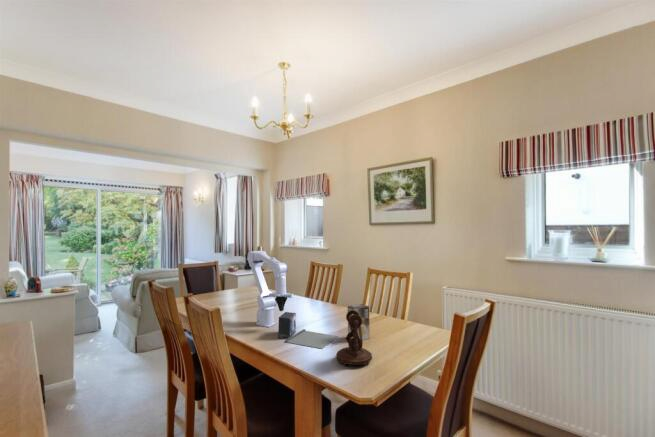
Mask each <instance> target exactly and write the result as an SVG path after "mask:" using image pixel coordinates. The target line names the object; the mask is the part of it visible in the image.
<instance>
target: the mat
mask: <svg viewBox="0 0 655 437" xmlns="http://www.w3.org/2000/svg"><path fill="white" fill-rule="evenodd" d="M337 338H338V335H332V334H329V333H328V334H327V333H322V332H321V333H320V332H316V331H310V330H306V329H305V328H303V329H301V330H300V331H298V332H295V333H294V334H293V336H291V337H290V338H288V339H286V338H285V340H284V343H287V344H293V345H298V346H303V347H307V348H308V347H309V348H314V349H320V350H323V349H325V347H326V346H328V345H330V343H331V342H333V341H334V340H335V339H337Z"/></svg>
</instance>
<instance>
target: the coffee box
mask: <svg viewBox="0 0 655 437" xmlns="http://www.w3.org/2000/svg"><path fill="white" fill-rule="evenodd" d="M351 310H355V311H357V312H358V314H359V316H360V317H361V319H362V324H361V330H362V341H365V340H369V339H371V338H370V335H371V334H370V306H369V305H365V304H362V303H361V304H354V305H347V313H348V312H349V311H351ZM350 332H351V330H350V325H349V323H348V322H347V334H348V333H350ZM357 332H358V335H359V329H358V331H357ZM359 339H360V335H359Z"/></svg>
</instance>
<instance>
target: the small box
mask: <svg viewBox="0 0 655 437" xmlns="http://www.w3.org/2000/svg"><path fill="white" fill-rule="evenodd" d="M296 324H297V312H291V311H290V312H288V311H285V312H283V313H282V314H281V315H280V316H278V330H277V332H278V333H277V334H278V336H277V338H278V339H285V340H286V339H288V338H290V337H291V336H293V335H295V334H296V333H297V332H296V330H297V325H296Z"/></svg>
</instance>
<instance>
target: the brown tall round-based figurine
mask: <svg viewBox="0 0 655 437" xmlns="http://www.w3.org/2000/svg"><path fill="white" fill-rule="evenodd" d="M345 315H346V316H345V319H346V321H347V324H348V323H349V325H350V330H351V332H350V333H348V332H347V335H346V338H345V339H346V342H347V344H348V346H347V347H343V348H341V349H339V350H338V351H337V352H336V355H335V357H336V359H337V360H338V361H339V362H340V363H342V365H343V366H344V367H346V365H352V366H354V365H356V366H357V365H360V366H361V365H365V364H366V365H367V366H369V364H370V362H371V361H372V360H373V354H372V352H370V351H369V350H367V349H366V348H364V347H363V344H364V343H363V341H364V340H362V330H361V324H362V319H361V317H360V316H359V314H358V312H357V311H355V310H351V311H349V312H348V311H347V313H346V314H345ZM358 329H359V335H360V339H359V335H358V332H357V331H358Z"/></svg>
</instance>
